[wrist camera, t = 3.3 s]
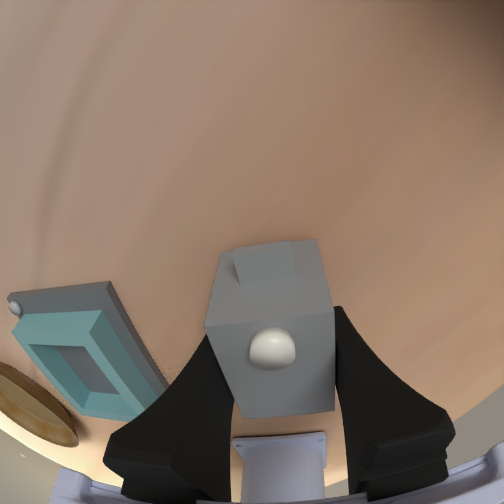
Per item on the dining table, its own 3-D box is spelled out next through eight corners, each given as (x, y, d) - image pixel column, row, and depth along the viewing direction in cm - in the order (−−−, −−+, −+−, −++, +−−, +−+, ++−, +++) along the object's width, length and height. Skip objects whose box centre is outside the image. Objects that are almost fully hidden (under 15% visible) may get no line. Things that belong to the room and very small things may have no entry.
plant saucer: (-12, 384, 26) (-20, 398, 24) (-30, 322, 20) (-44, 340, 17) (80, 441, 30) (75, 457, 28) (92, 402, 23) (83, 425, 21)
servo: (325, 378, 18) (334, 451, 13) (260, 385, 18) (257, 458, 14) (313, 212, 12) (336, 292, 8) (214, 226, 13) (187, 309, 8)
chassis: (183, 407, 21) (178, 434, 19) (90, 400, 22) (81, 421, 20) (110, 280, 15) (91, 311, 13) (10, 292, 16) (-8, 315, 14)
